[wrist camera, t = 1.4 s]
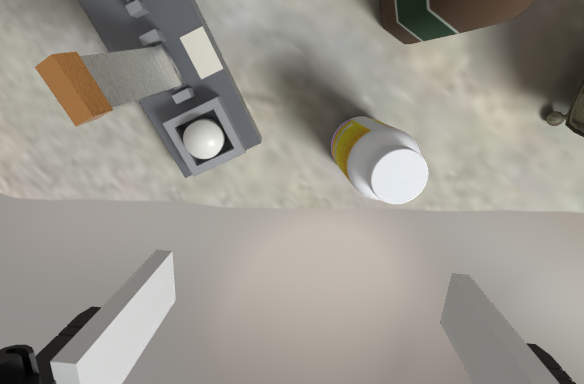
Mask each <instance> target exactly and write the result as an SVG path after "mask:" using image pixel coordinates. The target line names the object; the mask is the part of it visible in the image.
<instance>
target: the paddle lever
mask: <svg viewBox="0 0 584 384" xmlns="http://www.w3.org/2000/svg"><path fill="white" fill-rule="evenodd" d="M35 68H36V69H37V71H38V72H39V74H40V75H41V77H42V78H43V79H44V81H45V82H46V84H47V85H48V87H49V88H50V90H51V91H52V92H53V94H54V95H55V97H56V98H57V100H58V101H59V103H60V104H61V106H62V107H63V108H64V110H65V111H66V113H67V114H68V116H69V117H70V119H71V120H72V121H73V123H74V124H75V126H78V125H81V124H84V123H87V122H90V121H93V120H96V119H98V118H100V117H102V116H103V115H105V114H107V113H109V112H110V111H112V110H114V109H117V108H120V107H123V106H126V105H129V104H132V103H135V102H138V101H141V100H144V99H147V98H150V97H153V96H156V95H159V94H162V93H165V92H168V91H171V90H173V91H174V92H176V91H178V90H180V89H182V88H184V87H186V86H187V84H186V82H185V80H184V79H183V77H182V75H181V73H180V71H179V69H178V67H177V66H176V64H175V62H174V60H173V58H172V56H171V54H170V53H169V51H168V49H167V47H166V45H165V43H161V44H158V45H156V46H154V47H150V48H142V49H134V50H126V51H118V52H110V53H102V54H94V55H86V56H79V55H78V53H77V52H69V53H60V54H52V55H50V56H49V57H48V58H46V59H45V60H44V61H42V62H41V63H40V64H38V65H37V66H36V67H35Z"/></svg>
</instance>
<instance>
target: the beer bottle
mask: <svg viewBox="0 0 584 384" xmlns="http://www.w3.org/2000/svg"><path fill="white" fill-rule="evenodd" d="M533 1H534V0H380V5H381V14H382V22H383V28H384V29H385V30H387V31H388V32H389V33H391V34H392V35H393V36H395V37H396V38H397V39H399V40H400V41H401V42H403V43H404V44H413V43H417V42H422V41H427V40H431V39H436V38H440V37H445V36H449V35H454V34H458V33H462V32H467V31H471V30H475V29H479V28H483V27H487V26H491V25H495V24H499V23H502V22H505V21H508V20H511V19H513V18H516V17H517V16H519V15H520V14H521V13H522V12H523V11H524V10H526V9H527V8H528V7H529V6H530V5H531V4H532V3H533Z"/></svg>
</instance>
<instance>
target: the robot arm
mask: <svg viewBox="0 0 584 384" xmlns="http://www.w3.org/2000/svg"><path fill="white" fill-rule="evenodd" d="M174 302H175V286H174V270H173V255H172V251H162V250H156V251H155V252H154V253H153V254H152V255H151V256H150V257H149V258H148V260H146V262H145V263H144V264H143V265H142V266H141V267H140V268H139V269H138V270H137V271H136V272H135V273H134V274H133V275H132V276H131V277H130V278H129V279H128V280H127V281H126V283H125V284H124V285H123V286H122V287H121V288H120V289H119V290H118V291H117V292H116V293H115V294H114V295H113V296H112V297H111V298H110V299H109V300H108V301H107V302H106V303H105V304H104V306H103V307H91V308H89V309H87V310H86V311H84V312H82V313H80V314H79V315H78V316H77V317H76V318H74V319H73V320H72V321H71V322H70V324H68V325H67V327H65V328H64V329H63V330H62V331H61V332H60V333H59V335H58V336H56V337H55V338H54V339H53V340H52V341H51V342H50V343H49V344H48V345H47V346H46V347H45V348H44V349H42V350H41V352H39V353H38V354H37V355H36V356H35V354H34V351H33V349H32V347H30V346H27V345H14V346H10V347H5V348H3V349H0V384H122V383H123V381H124V380H125V378H126V377H127V375H128V373H129V372H130V370H131V369H132V367H133V366H134V364H135V363H136V361H137V359H138V358H139V356H140V355H141V353H142V352H143V350H144V348H145V347H146V345H147V344H148V342H149V341H150V339H151V338H152V336H153V334H154V333H155V331H156V330H157V328H158V327H159V325H160V323H161V322H162V320H163V319H164V317H165V315H166V314H167V312H168V311H169V309H170V308H171V306H172V305H173V303H174ZM440 323H441V325H442V327H443V329H444V331H445V333H446V334H447V336H448V338H449V340H450V342H451V343H452V346H453V347H454V349H455V351H456V353H457V355H458V357H459V358H460V360H461V362H462V364H463V365H464V367H465V369H466V371H467V373H468V375H469V377H470V379H471V380H472V382H473V384H576V383H575V382H572V379H571V378H570V377H569V376H568V375H567V373H566V372H565V371H563V370H562V368H561V366H560V365H559V364H558V363H557V362H556V361H555V360H554V359H553V358H552V356H550V355H549V354H548V353H546V352H545V351H544V350H543V349H541V348H540V347H539V346H537V345H536V344H526V343H525V342H524V340H523V339H522V338H521V337H520V336H519V334H518V333H517V332H516V331H515V330H514V328H513V327H512V326H511V325H510V324H509V322H508V321H507V320H506V319H505V318H504V316H503V315H502V314H501V313H500V312H499V310H498V309H497V308H496V307H495V306H494V304H493V303H492V302H491V301H490V300H489V298H488V297H487V296H486V295H485V294H484V292H483V291H482V290H481V289H480V288H479V287H478V285H477V284H476V283H475V282H474V280H473V279H472V278H471V277H470V276H469V275H465V274H452V275H451V279H450V283H449V287H448V292H447V296H446V300H445V305H444V308H443V313H442V317H441V321H440Z"/></svg>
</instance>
